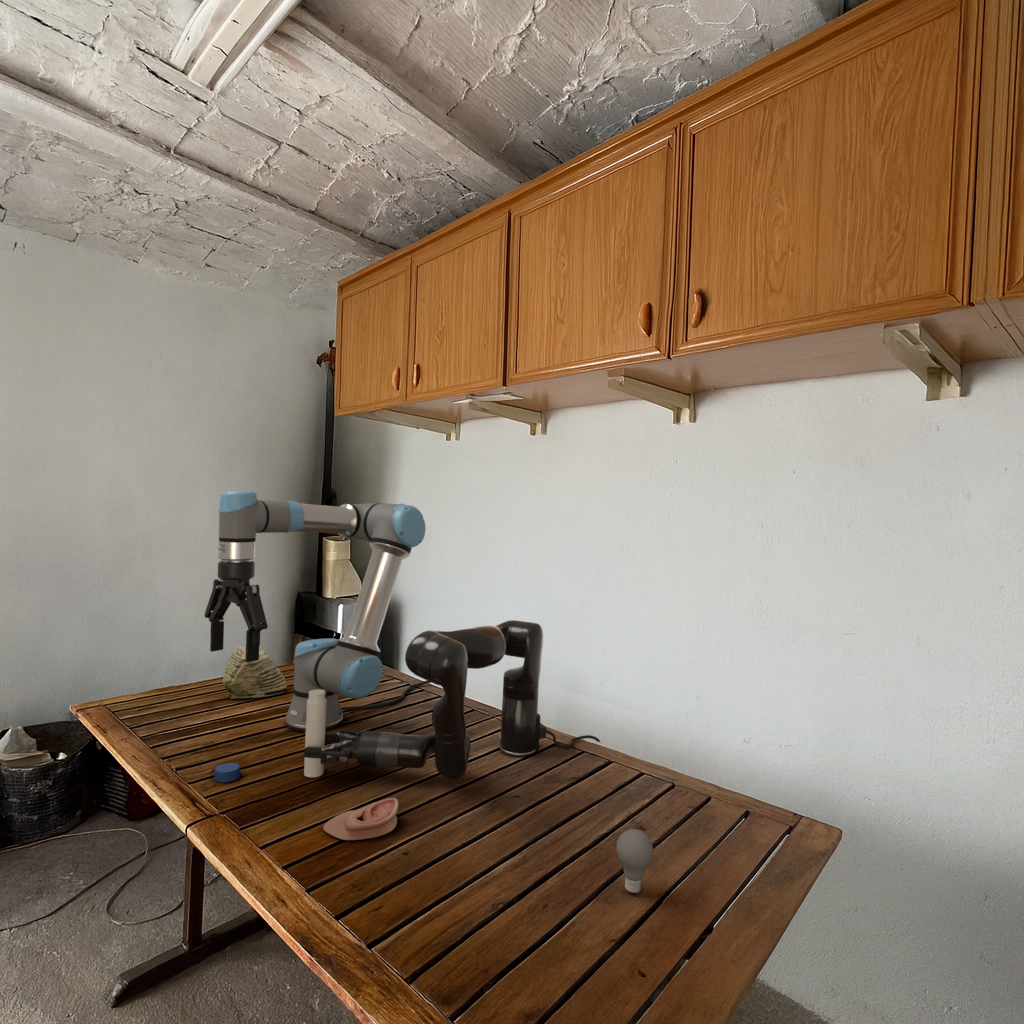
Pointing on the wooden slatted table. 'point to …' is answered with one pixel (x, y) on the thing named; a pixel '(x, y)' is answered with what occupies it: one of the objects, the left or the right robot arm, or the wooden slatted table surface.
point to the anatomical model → (364, 821)
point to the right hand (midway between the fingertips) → (312, 744)
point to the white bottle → (315, 730)
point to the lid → (227, 772)
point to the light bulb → (634, 857)
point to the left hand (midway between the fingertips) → (234, 655)
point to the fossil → (252, 676)
